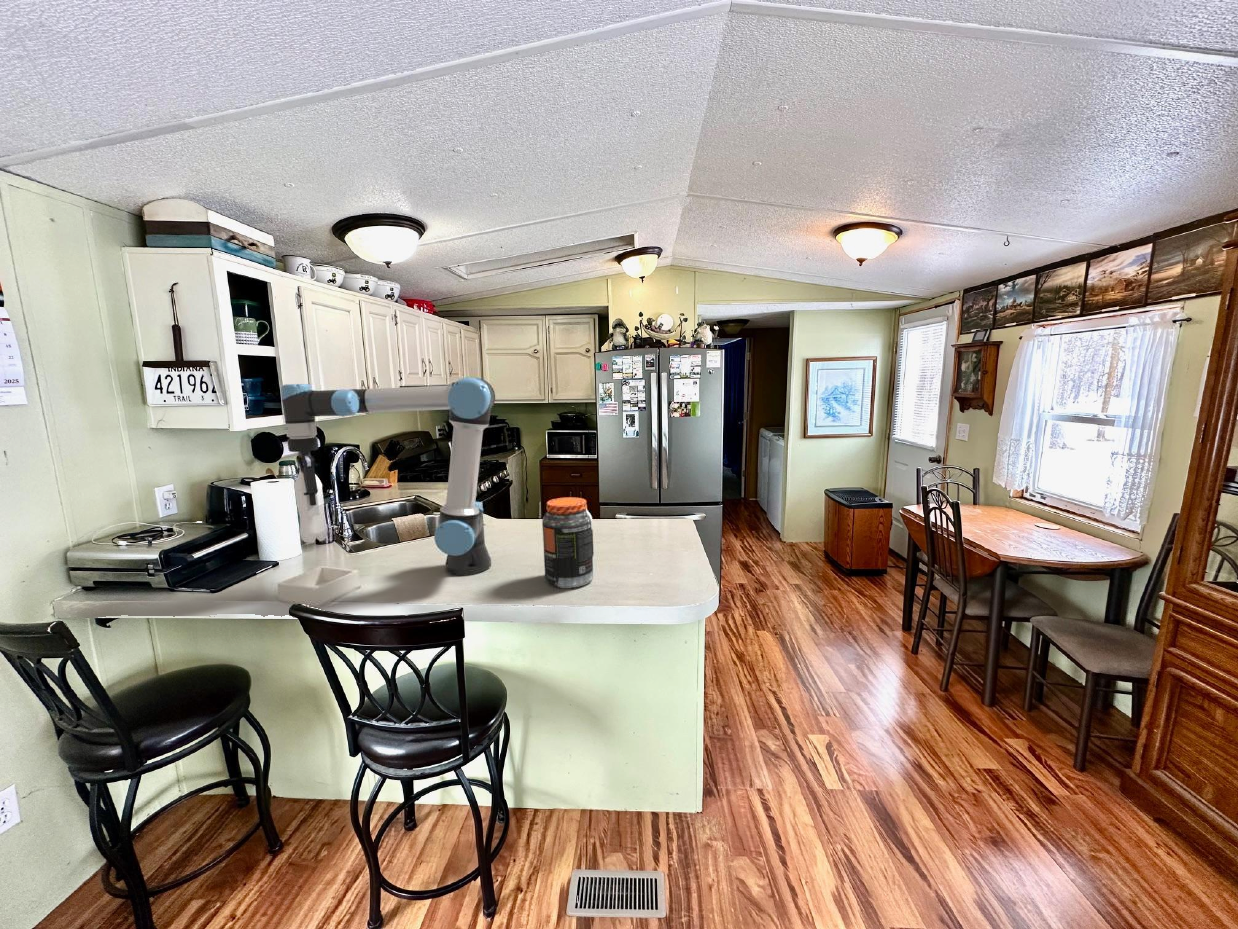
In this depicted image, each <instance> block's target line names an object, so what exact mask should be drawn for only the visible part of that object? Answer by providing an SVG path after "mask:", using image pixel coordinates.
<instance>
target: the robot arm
mask: <svg viewBox="0 0 1238 929" xmlns="http://www.w3.org/2000/svg"><path fill="white" fill-rule="evenodd" d="M280 392H281V402H282V403H281V404H282V409H283V415H284V423H285V426H283V429H282V430H284V431H286V437H287V438H288V439H287V440H286V441H287V447H288V451H289V452H292V453H298V454H297V455H296V463H297V469H298V473H299V472H300V470H301V472H302V473H303V476H304V481H305V487H306V493H304V495H306V500H307V508H308V516H309V517H311V516H317V515H320V514H319V506H318V498H317V493H318V490H317V483H316V476H317V475H316V476H315V474H316V471H315V459H314V458H315V457H314V456H312V455H311V451H317V450H319V442H318V437H317V435H318V432H317V423H316V417H347V416H355V415H356V414H368V413H369V414H370V413H387V412H388V413H390V412H414V411H415V412H416V411H437V410H439V411H442V410H443V411H444V410H449V416H448V422H449V423H450V424H451V425H452V426H453V430H452V439H451V440H452V441H451V450H450V460H449V461H450V462H449V469H448V470H449V471H448V479H447V480H448V481H447V489H446V490H447V492H446V499H445V500H446V501H445V504H443V506H441V507H440V509H439V519H438V525H437V527H436V529H435V531H434V537H433V538H434V542H435V545H436V547H437V548H438V549H439V550H440V551H441V552H442V553H444V554H446V555H447V556H446V559H445V560H446V561H445V564H444V567H445V572H446V573H447V574H449V573H450V574H449V575H453V576H471V575H470V574H472V575H474V574H473V573H477V574H479V572H480V573H483V572H485V571H484V570H486V571H487V570H489V569H490V568H491V567H492V558H491V556H490V555H489V554H490V553H489V551H488V549H487V546H486V542H485V541H486V540H485V527H484V525H485V524H484V508H483V503H481V501H476V498H477V491H478V490H477V489H478V480H479V479H478V478H479V472H480V471H479V470H480V464H481V463H480V462H481V454H482V453H481V452H482V444H483V443H482V442H483V436H484V435H483V434H484V430H485V429H486V428H488V426H490V418H491V409H492V408H493V407H494V405H495V401H496V393H495V390H494V387H493V386H492V385H491V384H490V383H489V382H488V381H487V380H485V379H483V378H482V379H481V378H478V377H469V376H468V377H463V378H460V379H458V380H457V381H456V382H455V381H454V382H450V383H449V385H434V386H433V385H432V386H430V385H429V386H410V387H409V386H408V387H407V386H406V387H384V388H383V387H382V388H381V387H380V388H361V389H359V388H357V389H356V388H352V389H331V390H330V389H327V390H313V388H312V386H311V384H309V383H297V384H296V383H293V384H292V383H291V384H289V383H288V384H287V383H286V384H283V385H282V386H281V390H280ZM299 465H300V468H299ZM489 567H490V568H489ZM482 571H483V572H482Z"/></svg>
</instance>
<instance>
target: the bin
mask: <svg viewBox="0 0 1238 929" xmlns="http://www.w3.org/2000/svg"><path fill="white" fill-rule="evenodd" d="M360 588H361V579H360V571H359V570H356V569H349V568H340V567H335V566H334V567H333V566H327V565H321V566H318V567H316V568H314V569H311V570H309V571H306V572H303V573H301V574H298V575H295V576H292V577H291V578H288V579H286V580H283V581H281V582H278V583H277V590H278V598H279V602H280V603H281V602H283V603H288V604H293V605H298V604H305V605H309V606H308V607H310V606H313V607H312V608H316V607H317V609H319V608H321V607H323V606H325V605H327V604H329V603H332V602H334V601H335V600H338V599H339V598H341V597H344V596H347V595H349V594H350V593H352V592H354V591H357V590H359V589H360Z"/></svg>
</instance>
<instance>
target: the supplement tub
mask: <svg viewBox="0 0 1238 929" xmlns="http://www.w3.org/2000/svg"><path fill="white" fill-rule="evenodd" d="M545 508H546V512H545V514H544V515H543V517H542V521H541V524H542V525H541V526H542V542H543V543H542V544H543V559H544V560H543V561H544V578H545V581H546V582H547V584H548V585H550V584H551V585H550V586H552V587H555V586H556V587H555V588H559V587H560V589H572V587H573V588H577V587H578V588H579V587H582V586H585V585H587V584H590V583H591V582H592V581H593V580H594V577H595V558H594V555H595V554H594V553H595V552H594V528H593V527H594V526H593V524H594V523H593V516H592V514H591V512H589V510H588V504H587V500H586V499H585V498H582V497H573V496H572V497H571V496H570V497H569V496H568V497H566V496H565V497H559V498H557V497H556V498H553V499H550V500H548V501H547V502H546V507H545Z"/></svg>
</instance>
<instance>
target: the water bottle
mask: <svg viewBox="0 0 1238 929" xmlns="http://www.w3.org/2000/svg"><path fill="white" fill-rule="evenodd" d="M299 468H300V465H299ZM315 476H316V483H317V490H318V493H317V498H318V506H319V514H320V515H317V516H311V517H309V516H308V508H307V500H306V495H304V493H306V487H305V481H304V476H303V473H302V472H301V470H300V472H299V471H298V475H297V476H296V477H297V478H296V480H295V482H294V485H293V489H294V493H295V494H294V495H295V500H296V507H297V508H296V509H297V511H298V516H299V535H300V538H301V540H302V542H304V543H307V544H308V543H309V544H314V543H315V542H316V540H318V541H319V542H323V541H325V539H326V537H327V536H328V531H329V530H328V528H329V527H328V525H327V523H326V522H327V521H326V518H325V510H324V509H325V507H324V506H325V501H324V492H323V483H322V482H321V480H320V478H319V477H318V475H317V474H316V473H315Z"/></svg>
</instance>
